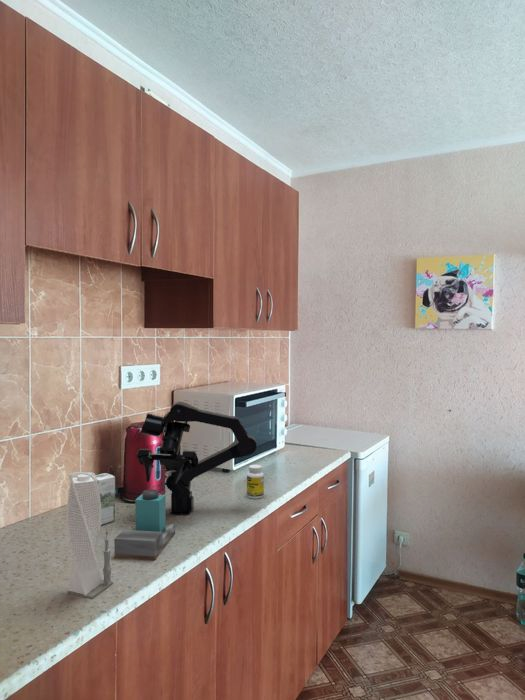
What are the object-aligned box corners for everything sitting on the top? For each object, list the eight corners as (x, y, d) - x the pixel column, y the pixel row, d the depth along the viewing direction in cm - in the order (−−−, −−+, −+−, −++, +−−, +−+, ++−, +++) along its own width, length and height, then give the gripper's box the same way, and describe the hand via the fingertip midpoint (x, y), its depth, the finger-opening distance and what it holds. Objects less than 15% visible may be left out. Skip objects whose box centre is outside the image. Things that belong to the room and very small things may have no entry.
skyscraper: (87, 602, 107) (86, 475, 106) (59, 594, 110) (57, 471, 109) (112, 583, 115) (111, 465, 114) (85, 577, 118) (84, 462, 117)
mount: (139, 531, 145) (139, 515, 145) (175, 533, 143) (175, 516, 143) (114, 557, 128) (114, 538, 128) (154, 560, 127) (154, 541, 126)
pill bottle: (243, 497, 175) (243, 467, 175) (251, 492, 181) (251, 463, 180) (258, 500, 172) (258, 469, 172) (266, 495, 178) (266, 465, 178)
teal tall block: (142, 531, 142) (142, 488, 142) (165, 532, 141) (165, 489, 141) (135, 538, 137) (135, 494, 137) (159, 539, 136) (159, 495, 136)
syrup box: (105, 516, 157) (104, 472, 156) (115, 521, 153) (115, 475, 153) (88, 522, 152) (88, 476, 152) (99, 526, 149) (98, 479, 148)
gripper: (204, 453, 163) (195, 496, 153) (150, 450, 166) (138, 493, 155) (199, 434, 155) (189, 479, 145) (142, 432, 158) (129, 476, 147)
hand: (161, 482), depth 148 cm, fingers open, 8 cm apart
